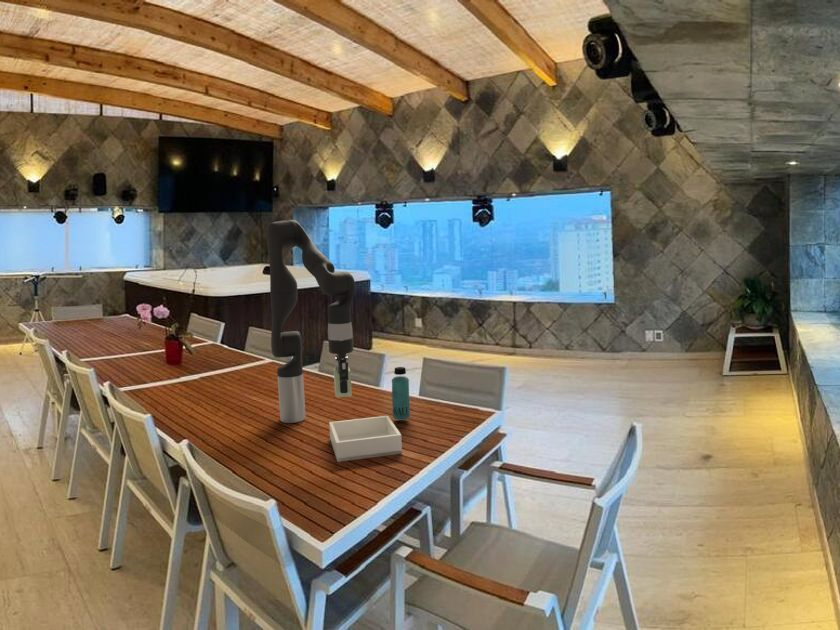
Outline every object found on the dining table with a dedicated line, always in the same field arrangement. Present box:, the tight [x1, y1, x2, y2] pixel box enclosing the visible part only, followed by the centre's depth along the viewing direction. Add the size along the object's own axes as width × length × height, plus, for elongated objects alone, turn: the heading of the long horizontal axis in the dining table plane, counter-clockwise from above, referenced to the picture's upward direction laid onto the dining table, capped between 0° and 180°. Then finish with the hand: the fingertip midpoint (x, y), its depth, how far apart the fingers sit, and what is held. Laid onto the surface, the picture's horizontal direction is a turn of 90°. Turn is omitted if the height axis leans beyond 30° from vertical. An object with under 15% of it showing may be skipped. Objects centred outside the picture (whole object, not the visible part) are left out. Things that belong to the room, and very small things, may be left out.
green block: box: [333, 367, 353, 398], centre depth 176 cm, size 5×5×8 cm
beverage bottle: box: [391, 366, 411, 421], centre depth 204 cm, size 6×7×20 cm
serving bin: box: [328, 415, 403, 463], centre depth 181 cm, size 20×20×6 cm
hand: (343, 390), depth 176 cm, fingers closed on green block, 4 cm apart
